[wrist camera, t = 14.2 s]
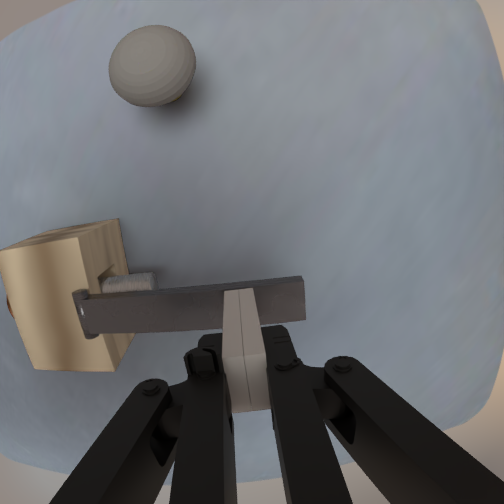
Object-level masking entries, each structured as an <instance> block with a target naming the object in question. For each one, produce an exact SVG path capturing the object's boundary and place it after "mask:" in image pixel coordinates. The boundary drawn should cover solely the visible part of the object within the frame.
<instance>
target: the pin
mask: <svg viewBox="0 0 504 504" xmlns="http://www.w3.org/2000/svg"><path fill="white" fill-rule="evenodd" d="M98 282H99V286H100V290H101V294H102V293H116V292H130V291H143V290H156V289H158V282H157V278H156V276H155V274H154V272H146V273H137V274H128V275H119V276H110V277H101V278H98ZM7 305H8V309H9V311H10V313H11V315H12V316H13V318H14V315H13V312H12V309H11V306H10V303H9V300H8V296H7ZM14 319H15V318H14Z"/></svg>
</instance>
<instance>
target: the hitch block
mask: <svg viewBox="0 0 504 504" xmlns="http://www.w3.org/2000/svg"><path fill="white" fill-rule="evenodd" d="M0 271H1V275H2V279H3V282H4V286H5V289H6V293H7V296H8V300H9V303H10V306H11V309H12V312H13V315H14V318H15V321H16V324H17V327H18V329H19V332H20V335H21V337H22V340H23V343H24V345H25V348H26V350H27V353H28V355H29V357H30V360H31V362H32V364H33V367H34V369H40V370H57V371H86V372H115V371H116V369H117V367H118V365H119V363H120V362H121V360H122V358H123V356H124V354H125V352H126V350H127V348H128V347H129V345H130V343H131V341H132V339H133V337H134V336H135V334H136V333H117V334H99V336H98V337H96V338H94V339H85V336H84V333H83V330H82V327H81V324H80V321H79V318H78V314H77V311H76V308H75V304H74V301H73V297H72V292H74V291H76V290H79V289H87V292H88V294H101V290H100V286H99V282H98V278H101V277H110V276H119V275H128V274H129V272H128V267H127V262H126V257H125V252H124V247H123V241H122V236H121V230H120V224H119V218H118V219H112V220H106V221H100V222H94V223H89V224H83V225H77V226H72V227H67V228H61V229H56V230H51V231H46V232H43V233H41V234H38V235H36V236H33V237H31V238H28V239H26V240H23V241H21V242H19V243H16V244H14V245H11V246H9V247H7V248H4V249H2V250H0Z"/></svg>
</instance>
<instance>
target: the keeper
mask: <svg viewBox="0 0 504 504" xmlns="http://www.w3.org/2000/svg"><path fill="white" fill-rule="evenodd" d="M246 288H253V291H254V296H255V302H256V307H257V312H258V317H259V322H260V325H264V324H274V323H283V322H292V321H300V320H306V310H305V290H304V280H303V278H302V276H292V277H283V278H274V279H264V280H254V281H245V282H234V283H224V284H213V285H202V286H191V287H180V288H168V289H156V290H143V291H130V292H116V293H102V294H88V292H87V289H79V290H76V291H74V292H72V297H73V301H74V304H75V308H76V311H77V314H78V318H79V321H80V324H81V327H82V330H83V333H84V336H85V339H94V338H96V337H98V336H99V334H117V333H151V332H173V331H190V330H206V329H219V328H223V312H224V291H229V290H239V289H246Z"/></svg>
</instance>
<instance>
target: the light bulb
mask: <svg viewBox="0 0 504 504" xmlns="http://www.w3.org/2000/svg"><path fill="white" fill-rule="evenodd" d="M195 68H196V57H195V53H194V50H193V48H192V45H191V43H190V42H189V40H188V39H187V38H186V37H185V36H184V35H183V34H182V33H181V32H179V31H177V30H175V29H173V28H170V27H167V26H162V25H151V26H145V27H141V28H138V29H136V30H134V31H132V32H130V33H129V34H127V35H126V36H125V37H124V38H123V39H122V40H121V41H120V42H119V43H118V44H117V46H116V47H115V49H114V51H113V53H112V55H111V58H110V62H109V77H110V81H111V84H112V87H113V88H114V90H115V91H116V93H117V94H118V95H119V96H120V97H122V98H123V99H124V100H126V101H127V102H129V103H131V104H133V105H136V106H141V107H155V106H161V105H164V104H167V103H169V102H172V101H176V100H177V99H179V98H180V96H181V95H182V93H183V92H184V91H185V90H186V89H187V87H188V86H189V84H190V82H191V80H192V78H193V75H194V72H195Z"/></svg>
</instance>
